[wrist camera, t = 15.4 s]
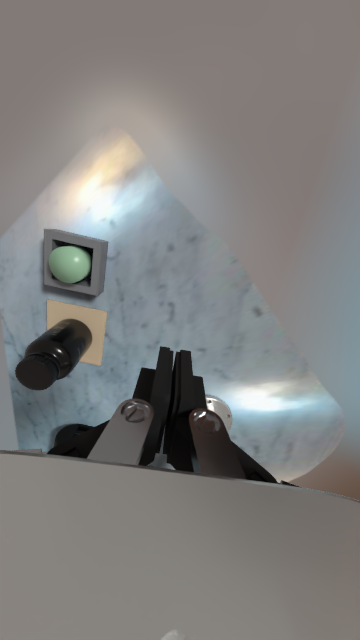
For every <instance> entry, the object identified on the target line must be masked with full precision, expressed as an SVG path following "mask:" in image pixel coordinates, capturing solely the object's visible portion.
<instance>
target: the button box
mask: <svg viewBox="0 0 360 640" xmlns="http://www.w3.org/2000/svg"><path fill="white" fill-rule="evenodd" d="M63 242H68V243H72V244H77V245H81V246H85V247H90V248H94V249H93V261H92V274H91V282H89V281H84V280H80V281H77V282H75V283H65V282H62V281H60V280H59V279H57V278H56V277H55V276H54V275H53V273H52V272H51V270H50V267H49V256H50V254H51V252H52V251H53V250H54V249H56V248H58V247H62V243H63ZM107 250H108V241H104V240H100V239H95V238H91V237H87V236H82V235H78V234H74V233H70V232H65V231H61V230H57V229H44V285H49V286H53V287H58V288H63V289H67V290H72V291H77V292H82V293H86V294H91V295H96V296H97V295H99V294H100V293H102V292H103V290H104V280H105V270H106V260H107Z"/></svg>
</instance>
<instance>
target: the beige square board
mask: <svg viewBox="0 0 360 640" xmlns="http://www.w3.org/2000/svg"><path fill="white" fill-rule="evenodd" d="M106 318H107V312H106V311H102V310H97V309H92V308H87V307H82V306H78V305H73V304H68V303H63V302H58V301H53V300H49V299H48V300H47V331H48V330H49V329H50V328H51V327H53V326H54V325H55V324H57V323H58V322H60V321H61V320H64V319H76V320H79V321H81V322H83V323H84V324H86V325H87V326H88V328H89V329H90V331H91V333H92V344H91V346H90V347H89V349H88V350H87V352H86V353H85V354H84V355H83V357H82V358H81V359H80V361H79V362H84V363H89V364H95V365H100V366H101V363H102V354H103V345H104V336H105V327H106Z"/></svg>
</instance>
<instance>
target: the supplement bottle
mask: <svg viewBox="0 0 360 640" xmlns="http://www.w3.org/2000/svg"><path fill="white" fill-rule="evenodd" d="M91 344H92V333H91V331H90V329H89V328H88V326H87V325H86V324H84V323H83V322H81V321H79V320H76V319H64V320H61V321H60V322H58V323H57V324H55V325H54V326H53V327H51V328H50V329H49V330H48V331H46V332H45V333H44V334H42V335H41V336H40V337H38V338H37V339H36V340H35V341H33V342H32V343H31V344H30V345H29V346H28V347H27V349H26V351H25V358H24V359H23V360H22V361H21V362H20V363H19V364H18V365H17V367H16V370H15V372H16V373H15V374H16V377H17V378H18V380H19V381H20V383H22V385H24V386H25V387H28V388H29V389H32V390H44V389H47V388H48V387H50V386H51V385H52V384H53V382H54V381H56V380H59V379H62V378H64V377H66V376H67V375H69V374H70V373H71V371H72V370H73V369H74V367H75V366H76V365H77V363H78V362H79V361H80V359H81V358H82V357H83V355H84V354H85V353H86V352H87V350H88V349H89V347H90V346H91Z"/></svg>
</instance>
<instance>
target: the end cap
mask: <svg viewBox="0 0 360 640" xmlns="http://www.w3.org/2000/svg"><path fill="white" fill-rule="evenodd" d="M92 428H94V427H92V426H87V425H83V424H75V425H69V426H66V427H64V428H63V429H61V430H60V431H59V432H58V434H57V436H56V439H55V444H54V447H55V446H57V445H59V444H61V443H63V442H65V441H67V440H69V439H71V438H73V437H75V436H77V435H79V434H81V433H84V432H86V431H88V430H90V429H92Z"/></svg>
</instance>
